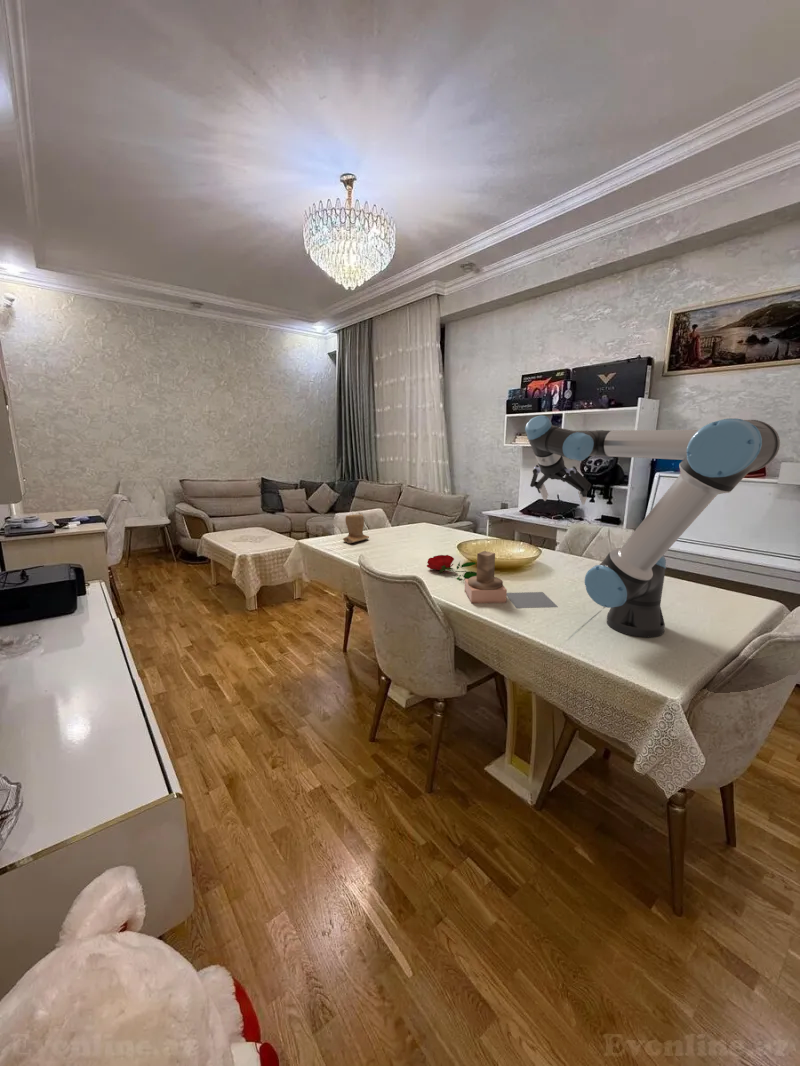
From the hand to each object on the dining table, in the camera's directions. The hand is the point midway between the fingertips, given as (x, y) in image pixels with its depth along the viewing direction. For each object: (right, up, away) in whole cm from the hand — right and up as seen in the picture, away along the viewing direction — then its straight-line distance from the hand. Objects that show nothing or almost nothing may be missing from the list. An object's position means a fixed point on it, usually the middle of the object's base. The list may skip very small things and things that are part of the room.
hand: (564, 499), depth 151 cm
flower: (-35, -30, +24) cm, 52 cm away
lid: (-28, -30, 0) cm, 41 cm away
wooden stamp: (-83, -16, +85) cm, 120 cm away
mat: (-13, -35, -2) cm, 38 cm away
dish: (-28, -35, +1) cm, 45 cm away
